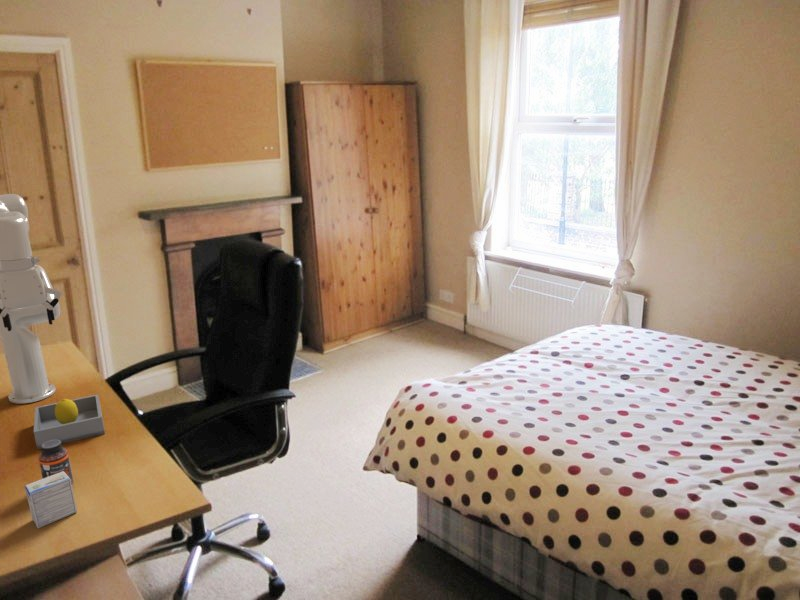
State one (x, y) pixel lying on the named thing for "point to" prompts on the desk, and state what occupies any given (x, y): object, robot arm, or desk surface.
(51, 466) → the supplement bottle
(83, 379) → the desk surface
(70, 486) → the medicine box
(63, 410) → the lemon
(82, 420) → the tote
